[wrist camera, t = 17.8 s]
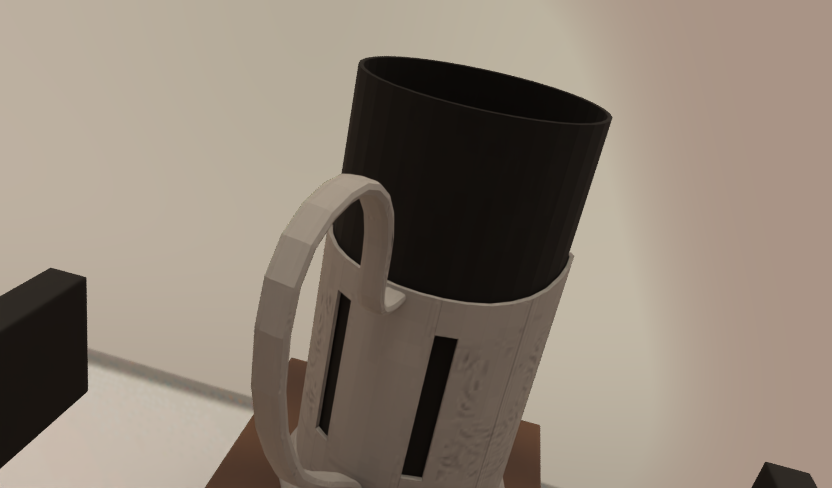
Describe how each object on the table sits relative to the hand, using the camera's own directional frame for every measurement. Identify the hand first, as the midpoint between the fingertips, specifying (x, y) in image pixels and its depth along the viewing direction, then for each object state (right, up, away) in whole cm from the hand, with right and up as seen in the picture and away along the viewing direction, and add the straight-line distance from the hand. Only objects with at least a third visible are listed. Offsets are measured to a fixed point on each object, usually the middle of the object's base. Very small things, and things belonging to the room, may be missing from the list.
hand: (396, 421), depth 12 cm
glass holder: (-2, -6, +10) cm, 12 cm away
